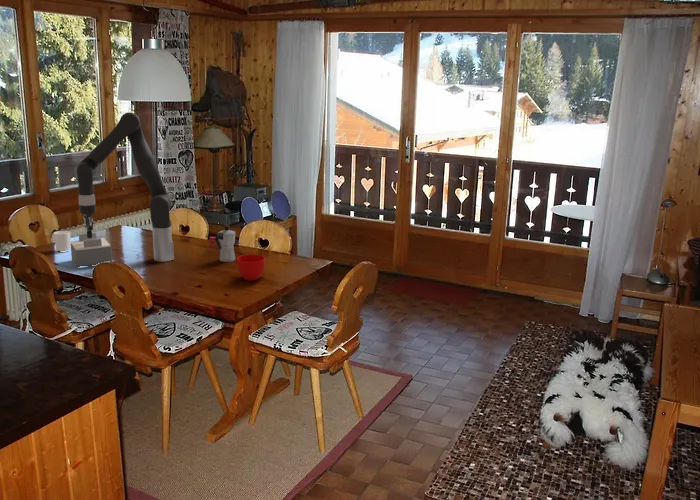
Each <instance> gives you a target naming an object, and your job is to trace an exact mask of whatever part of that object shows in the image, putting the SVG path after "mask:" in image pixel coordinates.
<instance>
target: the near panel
mask: <svg viewBox="0 0 700 500" xmlns="http://www.w3.org/2000/svg"><path fill="white" fill-rule="evenodd" d="M101 238H102V237H100V238H99V239H98V238H96V239H89V240H83V244H78V245H73V247H74V249H75V250H85V249H94V248H103V247H111V244H110V243H109V242H108V241H107V242H101Z"/></svg>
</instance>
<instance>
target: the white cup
mask: <svg viewBox="0 0 700 500" xmlns="http://www.w3.org/2000/svg"><path fill="white" fill-rule="evenodd" d="M53 238H54V245H55V250H57V251H66V250H69V249H70V250H71V244H70V241H71V231H69V230H58V231H54V232H53ZM57 251H56V252H57Z"/></svg>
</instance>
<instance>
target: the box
mask: <svg viewBox="0 0 700 500" xmlns="http://www.w3.org/2000/svg"><path fill="white" fill-rule="evenodd" d="M70 253H71V261H72V260H73V261H74V263H75V264H76V266H77V267H80V266H92V265H96V264H98V263H101V262H104V261H110V262H112V260H113V259H112V249H111V247H103V248H94V249H85V250H75V249H74V247H73V246H72V244H71V243H70ZM73 261H72V262H73ZM74 263H73V264H74ZM75 264H74V265H75ZM76 266H75V267H76ZM77 267H76V268H77Z"/></svg>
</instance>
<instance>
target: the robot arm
mask: <svg viewBox="0 0 700 500" xmlns="http://www.w3.org/2000/svg"><path fill="white" fill-rule="evenodd" d="M126 137H127V139H128V141H129V144H130V149H131V152H132V157H133V160H134V164H135V166H136V168H137V170H138V171H137V172H138V173H139V175H140V177H141V178H142V180H143V181H144V182H145V183H146V185H147V188H148V190H149V191H150V192H149V193H150V195H151V200H150V203H149V213H150V221H151V227H152V229H151V230H152V241H153V242H152V245H153V260H154V261H156V262H169V261H172V260H175V252H174V251H175V250H174V241H173V237H172V235H173V234H172V222H171V217H170V209H171V207H172V200H171V197H170V196H169V193H168V192H167V190H166V187H165V186H164V183H163V180H162V178H161V173H160V172H159V169H158V164H157V162H156V160H155V157H154V154H153V153H152V150H151V148H150V146H149V144H148V143H147V140H146V138H145V134H144V133H143V129H142V125H141V120H140V117H139V116H138V115H137V114H136V113H134V112H125V113H123V114H122V115H121V116H120V118H119V121H118V123H116V125H115V127H114V128H113V129H112V131H111V132H110V133H108V135H107V136H106V137H105V138H103V139H102V140H101V141H100V142H99V143H98V144H97V145H96V146H95V147H94V148H93V149H92V150H91V152H89V153H88V155H87V156H86V157H84V158H83V159H82V160H81V161H80V162H79V163H78V164H77V166H76V176H77V184H78V186H77V187H78V207H79V208H78V209H79V213H80V214H81V215H83V217H82V218H83V222H84V224H83V225H84V228H85V230H86V233H87V238H92V233H93V230H94V217H93V216H92V215H93V214H95V213H96V212H97V209H96V208H97V206H96V204H97V203H96V196H95V188H94V187H95V186H94V181H93V178H94V176H93V171H95V170H96V169H97V167H98V166H99V165H101V164H102V163H103V162H105V160H106V159H107V158H108V157H109V156H111V154H112V153H113V152H114V150H115V149H116V148H117V147H118V145H120V144H121V142H123V140H124V139H126Z"/></svg>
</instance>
